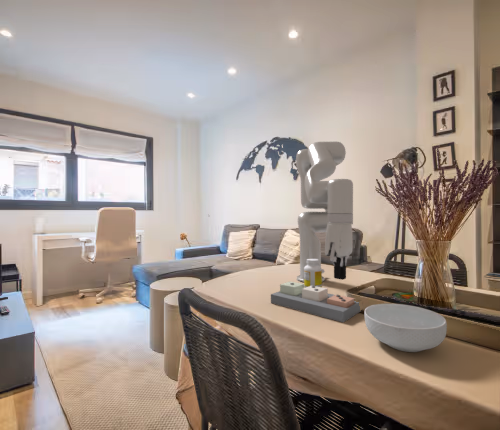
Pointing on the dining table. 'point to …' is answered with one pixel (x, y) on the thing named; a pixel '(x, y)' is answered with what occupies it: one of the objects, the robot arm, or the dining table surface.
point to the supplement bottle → (312, 273)
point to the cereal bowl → (405, 326)
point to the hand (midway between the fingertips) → (339, 278)
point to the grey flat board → (316, 306)
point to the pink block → (340, 301)
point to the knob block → (291, 288)
